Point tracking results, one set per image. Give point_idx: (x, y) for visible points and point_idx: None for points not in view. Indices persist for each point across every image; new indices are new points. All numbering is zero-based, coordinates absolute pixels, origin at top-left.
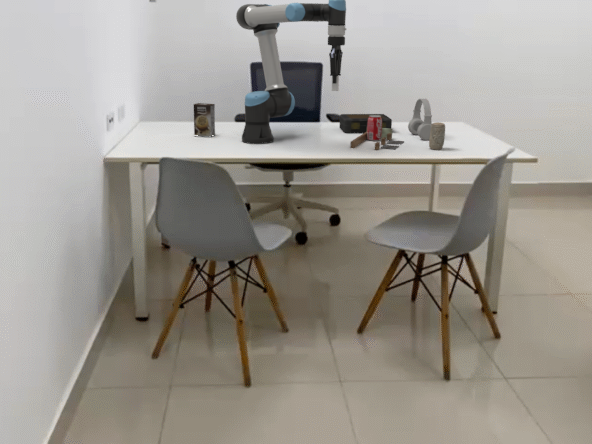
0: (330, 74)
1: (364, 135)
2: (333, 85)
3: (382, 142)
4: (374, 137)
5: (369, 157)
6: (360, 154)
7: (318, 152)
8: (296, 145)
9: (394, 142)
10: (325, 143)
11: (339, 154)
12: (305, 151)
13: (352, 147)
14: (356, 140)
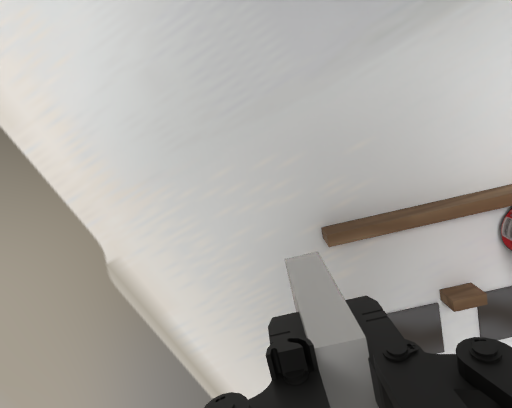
0: (279, 355)
1: (508, 205)
2: (295, 299)
3: (445, 299)
4: (508, 244)
5: (207, 354)
6: (235, 309)
7: (172, 169)
8: (246, 5)
9: (501, 313)
10: (359, 92)
11: (189, 252)
12: (157, 115)
13: (323, 236)
14: (375, 235)
